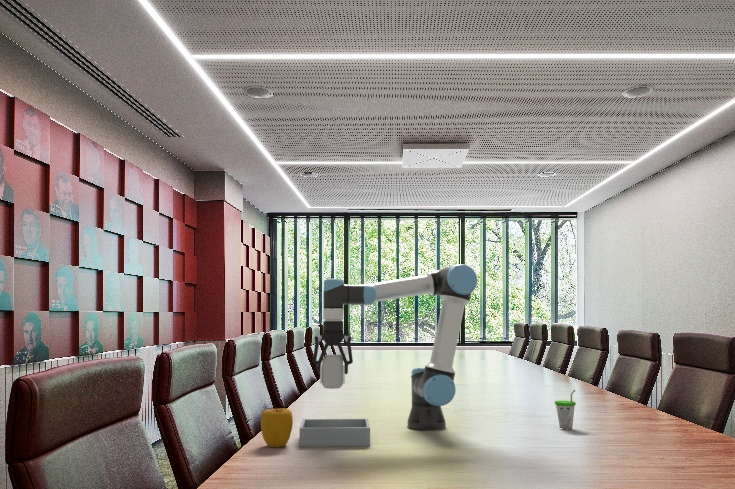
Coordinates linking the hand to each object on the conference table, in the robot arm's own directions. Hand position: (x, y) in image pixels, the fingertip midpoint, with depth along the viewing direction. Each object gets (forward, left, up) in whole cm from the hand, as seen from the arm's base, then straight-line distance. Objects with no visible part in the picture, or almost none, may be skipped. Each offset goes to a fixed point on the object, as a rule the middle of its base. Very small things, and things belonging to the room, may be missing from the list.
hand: (332, 383), depth 226 cm
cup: (-91, -13, -20) cm, 94 cm away
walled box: (-1, +6, -19) cm, 20 cm away
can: (0, 0, -2) cm, 2 cm away
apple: (+19, +14, -20) cm, 30 cm away
